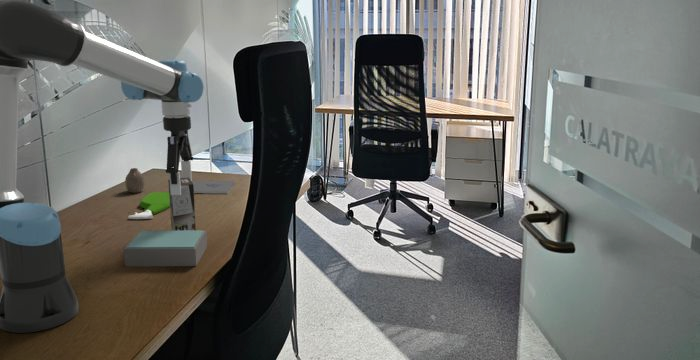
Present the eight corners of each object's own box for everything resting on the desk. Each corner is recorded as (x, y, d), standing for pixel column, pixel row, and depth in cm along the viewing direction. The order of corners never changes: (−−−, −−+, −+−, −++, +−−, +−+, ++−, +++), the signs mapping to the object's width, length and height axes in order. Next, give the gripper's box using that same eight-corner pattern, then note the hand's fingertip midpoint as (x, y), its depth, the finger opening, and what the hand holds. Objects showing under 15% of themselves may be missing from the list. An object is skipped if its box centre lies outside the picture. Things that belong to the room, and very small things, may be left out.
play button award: (185, 180, 234) (235, 180, 235) (185, 184, 235) (235, 184, 235) (173, 191, 219) (227, 191, 219) (173, 195, 219) (227, 195, 219)
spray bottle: (179, 199, 212) (158, 222, 189) (148, 199, 212) (124, 222, 188) (178, 191, 212) (157, 213, 188) (147, 191, 211) (123, 213, 188)
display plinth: (196, 266, 152) (195, 247, 151) (125, 266, 151) (123, 248, 150) (207, 246, 165) (206, 229, 164) (141, 247, 165) (140, 230, 164)
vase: (121, 193, 219) (119, 170, 217) (133, 188, 225) (131, 166, 223) (137, 194, 217) (136, 171, 215) (149, 190, 223) (147, 167, 221)
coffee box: (197, 237, 173) (194, 184, 169) (174, 240, 170) (170, 186, 167) (192, 228, 181) (190, 176, 177) (171, 230, 179) (167, 178, 175)
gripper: (179, 122, 155) (184, 200, 161) (199, 109, 179) (203, 177, 185) (150, 123, 155) (156, 200, 160) (174, 109, 179) (179, 177, 184)
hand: (181, 188), depth 173 cm, fingers open, 13 cm apart
